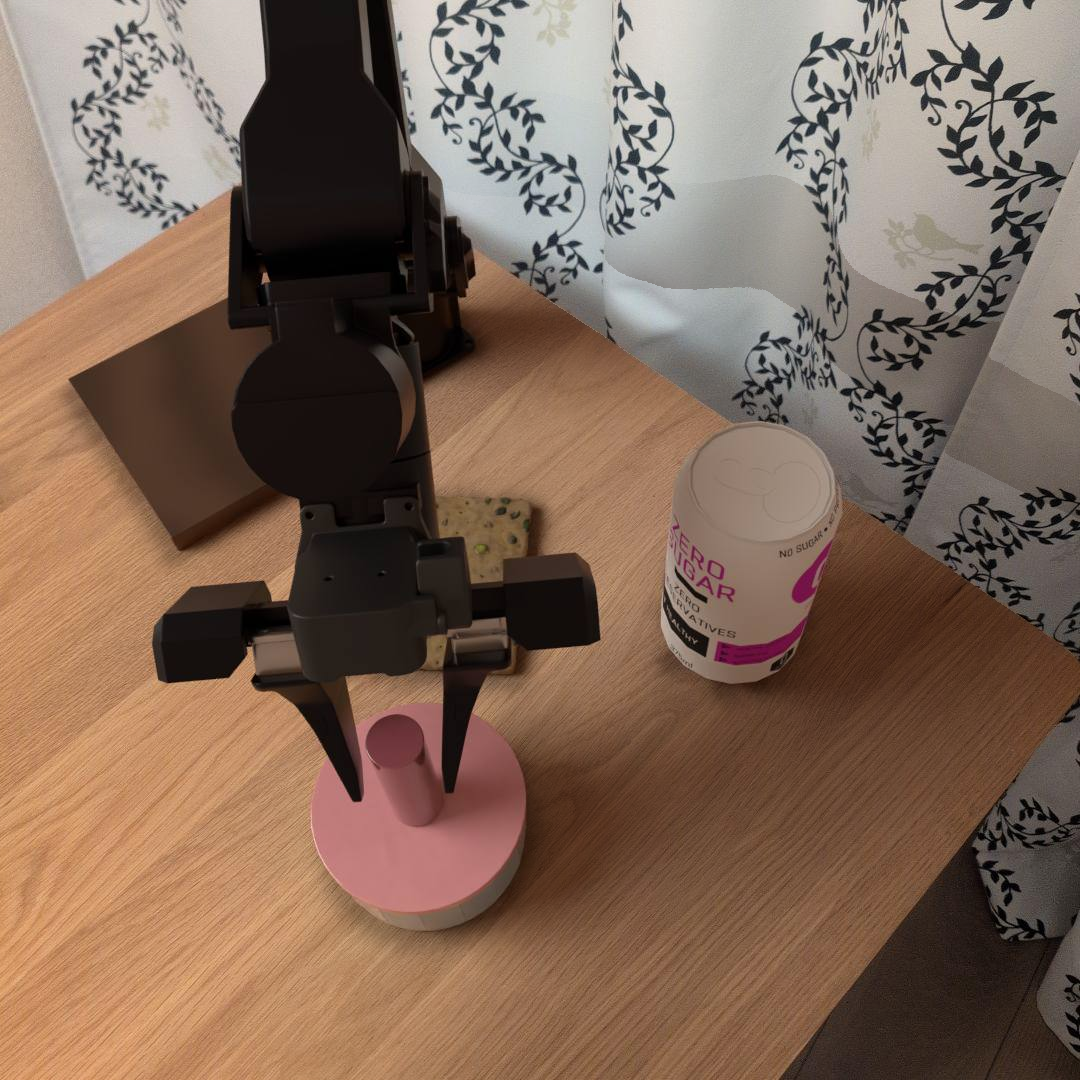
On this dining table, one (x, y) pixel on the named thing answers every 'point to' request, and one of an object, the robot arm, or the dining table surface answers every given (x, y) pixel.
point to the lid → (420, 814)
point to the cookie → (482, 548)
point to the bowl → (460, 911)
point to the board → (180, 420)
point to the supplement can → (746, 549)
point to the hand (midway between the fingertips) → (404, 794)
